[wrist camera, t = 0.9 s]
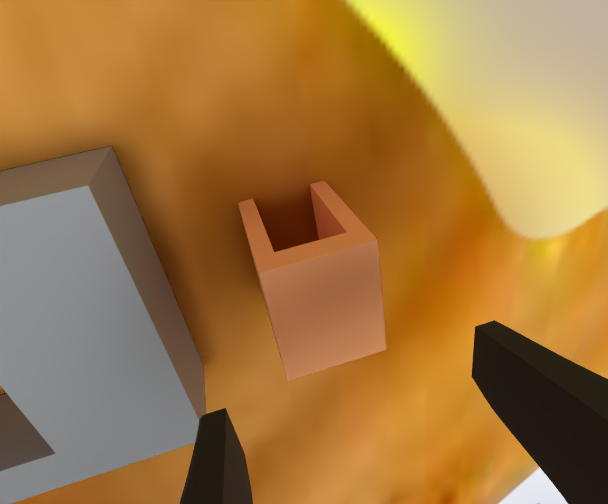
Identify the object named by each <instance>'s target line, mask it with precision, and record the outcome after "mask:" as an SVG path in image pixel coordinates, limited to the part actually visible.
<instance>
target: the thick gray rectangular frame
mask: <svg viewBox="0 0 608 504" xmlns="http://www.w3.org/2000/svg"><path fill="white" fill-rule="evenodd" d="M0 386H1V387H2V388H3V390H4V391H5V392H6V394H3V395H0V504H12V503H15V502H18V501H21V500H24V499H27V498H30V497H33V496H36V495H39V494H42V493H45V492H48V491H51V490H54V489H57V488H60V487H63V486H66V485H69V484H72V483H75V482H78V481H81V480H84V479H87V478H90V477H93V476H96V475H99V474H102V473H105V472H108V471H111V470H114V469H117V468H120V467H123V466H126V465H129V464H132V463H135V462H139V461H142V460H145V459H148V458H151V457H154V456H157V455H160V454H163V453H166V452H169V451H172V450H175V449H178V448H181V447H184V446H187V445H190V444H193V443H195V442H196V437H197V431H198V425H199V420H200V418H201V417H202V415H205V414H206V400H205V382H204V366H203V363H202V361H201V358H200V356H199V354H198V351H197V349H196V346H195V344H194V342H193V339H192V337H191V334H190V332H189V330H188V327H187V325H186V322H185V320H184V318H183V315H182V313H181V310H180V308H179V306H178V303H177V301H176V298H175V296H174V294H173V291H172V289H171V286H170V284H169V282H168V279H167V277H166V274H165V272H164V270H163V267H162V265H161V262H160V260H159V258H158V255H157V253H156V250H155V248H154V246H153V243H152V241H151V238H150V236H149V234H148V231H147V229H146V226H145V224H144V222H143V219H142V217H141V214H140V212H139V210H138V207H137V205H136V202H135V200H134V198H133V195H132V193H131V190H130V188H129V186H128V183H127V181H126V178H125V176H124V174H123V171H122V169H121V166H120V164H119V162H118V159H117V157H116V154H115V152H114V150H113V147H112V146H109V147H104V148H100V149H95V150H91V151H87V152H82V153H78V154H73V155H69V156H64V157H60V158H56V159H51V160H47V161H42V162H38V163H34V164H29V165H25V166H20V167H16V168H12V169H7V170H3V171H0Z"/></svg>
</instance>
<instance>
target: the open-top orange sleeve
mask: <svg viewBox="0 0 608 504" xmlns="http://www.w3.org/2000/svg"><path fill="white" fill-rule="evenodd" d="M310 190H311V196H312V202H313V208H314V214H315V220H316V226H317V232H318V238H319V240H317V241H314V242H310V243H306V244H303V245H299V246H295V247H292V248H288V249H284V250H281V251H277V252H274V250H273V248H272V245H271V243H270V240H269V238H268V235H267V232H266V230H265V227H264V225H263V222H262V220H261V217H260V215H259V212H258V210H257V207H256V205H255V202H254V199H249V200H245V201H241V202H238V206H239V210H240V213H241V217H242V221H243V224H244V228H245V232H246V235H247V239H248V243H249V246H250V250H251V254H252V257H253V261H254V265H255V268H256V272H257V276H258V279H259V283H260V287H261V290H262V294H263V297H264V301H265V304H266V308H267V311H268V314H269V318H270V321H271V325H272V328H273V332H274V335H275V339H276V342H277V346H278V349H279V352H280V356H281V359H282V363H283V366H284V370H285V373H286V377H287V380H288V381H290V380H294V379H297V378H300V377H303V376H306V375H309V374H312V373H315V372H319V371H322V370H325V369H328V368H331V367H334V366H337V365H340V364H344V363H347V362H350V361H353V360H356V359H359V358H362V357H365V356H369V355H372V354H375V353H378V352H381V351H384V350H386V338H385V325H384V312H383V300H382V287H381V275H380V262H379V249H378V240H377V239H376V237H375V236H374V235H373V234H372V233H371V232H370V231H369V230H368V229H367V227H366V226H365V225H364V224H363V223H362V222H361V221H360V220H359V218H358V217H357V216H356V215H355V214H354V213H353V212H352V211H351V210H350V208H349V207H348V206H347V205H346V204H345V203H344V202H343V201H342V200H341V198H340V197H339V196H338V195H337V194H336V193H335V192H334V191H333V190H332V188H331V187H330V186H329V185H328V184H327V183H326V182H325V181H320V182H316V183H312V184H310Z"/></svg>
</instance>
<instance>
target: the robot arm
mask: <svg viewBox="0 0 608 504" xmlns="http://www.w3.org/2000/svg"><path fill="white" fill-rule="evenodd" d="M472 378H473V379H474V381H475V382H476V384H477V386H478V387H479V389H480V390H481V392H482V394H483V395H484V397H485V398H486V400H487V401H488V403H489V404H490V406H491V407H492V409H493V410H494V411H495V413H496V414H497V415H498V416H499V418H500V419H501V420H502V421H503V423H504V424H505V425H506V426H507V428H508V429H509V430H510V431H511V433H512V434H513V435H514V436H515V437H516V439H517V440H518V441H519V442H520V444H521V445H522V446H523V447H524V448H525V450H526V451H527V452H528V453H529V455H530V456H531V457H532V458H533V459H534V461H535V462H536V463H537V464H538V465H539V467H540V468H541V469H542V470H543V471H544V473H545V474H546V475H547V476H548V478H549V479H550V480H551V481H552V482H553V484H554V485H555V487H556V488H557V489H558V491H559V492H560V493H561V494H562V496H563V497H564V498H565V500H566V501H567V503H568V504H608V379H606V378H604V377H602V376H600V375H598V374H596V373H594V372H592V371H590V370H588V369H586V368H584V367H582V366H580V365H578V364H576V363H574V362H572V361H570V360H568V359H566V358H564V357H562V356H560V355H558V354H556V353H554V352H553V351H551V350H549V349H547V348H545V347H543V346H541V345H539V344H538V343H536V342H534V341H532V340H530V339H528V338H526V337H525V336H523V335H521V334H519V333H517V332H515V331H514V330H512V329H510V328H508V327H506V326H504V325H502V324H500V323H498V322H497V321H492V322H488V323H485V324H482V325H479V326H476V327H475V338H474V352H473V366H472ZM180 504H253V501H252V492H251V486H250V481H249V475H248V470H247V464H246V459H245V454H244V451H243V449H242V447H241V444H240V442H239V439H238V437H237V434H236V432H235V430H234V427H233V425H232V422H231V420H230V418H229V415H228V413H227V410H226V408H224V409H221V410H218V411H215V412H212V413H208V414H205V415H202V417H201V418H200V420H199V425H198V431H197V437H196V442H195V446H194V451H193V455H192V459H191V464H190V468H189V472H188V476H187V479H186V483H185V486H184V490H183V494H182V497H181V501H180Z"/></svg>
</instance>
